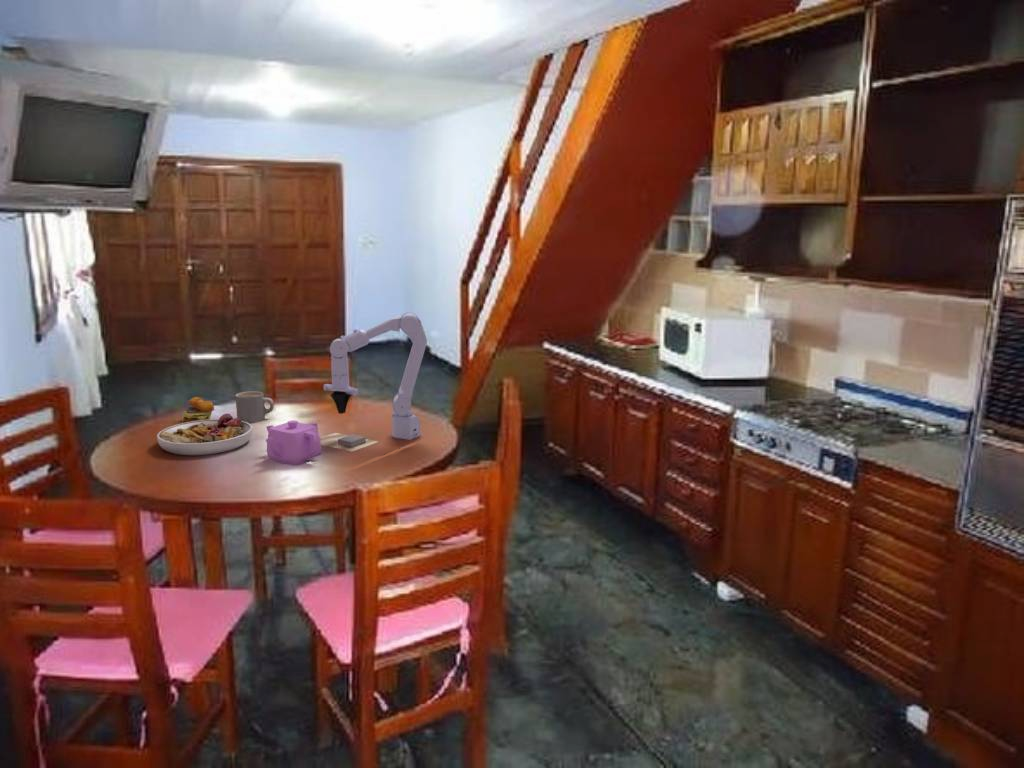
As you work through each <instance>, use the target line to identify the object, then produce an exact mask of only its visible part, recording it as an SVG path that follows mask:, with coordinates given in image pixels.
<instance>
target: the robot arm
mask: <svg viewBox="0 0 1024 768" xmlns="http://www.w3.org/2000/svg"><path fill="white" fill-rule="evenodd" d="M400 329H401V331H402V332H403V334H405V335H406V336H408V338H409V339H410V341H411V343H412V346H411V349H410V352H409V356H408V359H407V362H406V366H405V369H404V373H403V376H402V379H401V383H400V387H399V388H398V390H397V391H398V392H397V393H396V394H395V395H394V397H393V400H392V410H393V411H391V425H392V432H391V433H392V434H391V435H392V437H393V438H396V439H402V440H403V439H404V440H408V441H409V440H410V441H411V440H413V439H416V438H419V437H421V421H420V419H419V417H418V416H416V415H414V414H413V410H412V397H413V393H414V389H415V385H416V382H417V378H418V374H419V371H420V368H421V364H422V361H423V359H424V354H425V350H426V347H427V344H428V339H427V336H426V333H425V332H426V331H424V327H423V324H422V321H421V319H420V318H419V316H418V315H416V314H415V313H414V312H409V311H408V312H405V313H403V314H399V315H397V316H393V317H390V318H389V319H386V320H384V321H383V322H380V323H378V324H376V325H375V326H373V327H370V328H368V329H366V330H365V329H362V328H359V329H358V328H355V329H353V331H352V332H351V333H349V334H345V335H341V336H340V338H336V339H333V341H332V342H331V343H330V346H329V352H330V355H331V356H330V360H331V361H330V365H331V367H330V368H331V369H330V370H331V384H329V383H326V384H325V383H324V384H323V391H329V392H332V393H330V397H331V398H332V400H333V402H334V404H335V407H336V410H337V413H338V414H341V415H343V414H344V413H346V411H347V406H348V403H349V400H350V397H352V396H357V395H359V394H360V393H359V392H360V391H359V388H356V387H353V386H350V372H349V371H350V370H349V360H348V352H354V351H356V350H358V349H360V348H362V347H365V346H367V345H369V342H370V340H371V339H374V338H376V337H378V336H381V335H383V334H385V333H388V332H390V331H393V332H400Z"/></svg>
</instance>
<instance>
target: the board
mask: <svg viewBox="0 0 1024 768" xmlns="http://www.w3.org/2000/svg"><path fill="white" fill-rule="evenodd" d="M346 436H349V435H347V434H343V433H340V432H339V433H338V432H333V433H331V434H328V435H324V436H321V437H320V442H321V446H324V447H329V448H333V449H338V450H343V451H348V452H351V453H352V452H355V451H358V450H360V449H364V448H366V447H369V446H371V445H373V444H376V443H378V441H377V440H372V439H367V438H366V442H365V443H362V444H359V445H357V446H354V447H347V446H343V445H339V444H338V439H340V438H343V437H346Z"/></svg>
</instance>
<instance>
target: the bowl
mask: <svg viewBox="0 0 1024 768" xmlns="http://www.w3.org/2000/svg"><path fill="white" fill-rule="evenodd" d="M252 435H253V425H252V423H247V422H244V421H241V420H240V419H239V418H237V417H233V416H232V415H231V414H230V413H223V414H222V415H221V416H220V417H219V418H217V419H215V418H214V419H213V418H212V419H211V418H209V420H199V421H192V422H182V423H177V424H174V425H171V426H168V427H166V428H163V429H162V430H160V431H159V432H158V433H157V435H156V440H157V443H158V445H159V446H160V447H161V448H162V449H163V450H164V451H165V452H168V453H171V454H175V455H181V456H206V455H214V454H221V453H225V452H229V451H232V450H235V449H237V448H240V447H242V446H243V445H244V446H245V444H247V442H249V440H251V438H252Z"/></svg>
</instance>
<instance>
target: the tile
mask: <svg viewBox="0 0 1024 768" xmlns="http://www.w3.org/2000/svg"><path fill="white" fill-rule="evenodd" d="M366 439H367V437H366V436H363V435H358V434H354V433H352V434H350V435H349V436H346V437H343V438H340V439H338V444H339V445H343V446H347V447H354V446H357V445H359V444H362V443H365V442H366Z"/></svg>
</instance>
